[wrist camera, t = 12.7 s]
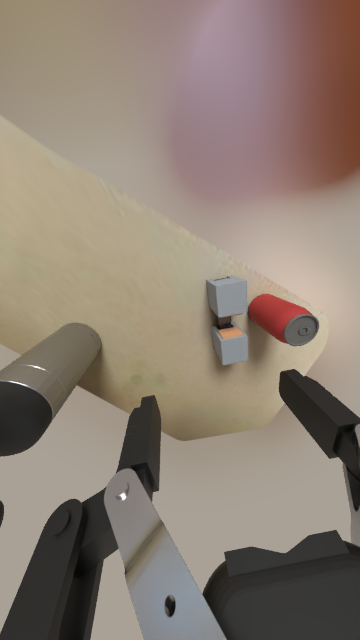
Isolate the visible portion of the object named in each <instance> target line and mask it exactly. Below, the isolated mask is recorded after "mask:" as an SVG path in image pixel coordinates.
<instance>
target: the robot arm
mask: <svg viewBox="0 0 360 640" xmlns="http://www.w3.org/2000/svg"><path fill="white" fill-rule="evenodd" d="M100 348H101V341H100V338H99V336H98V334H97V333H96V332H95V331H94V330H93V329H92V328H90V327H88V326H86V325H84V324H79V323H71V324H67V325H65V326H63V327H62V328H60V329H59V330H57V331H56V332H55V333H53V334H52V335H50V336H49V337H47V338H46V339H44V340H43V341H42V342H40V343H39V344H37V345H36V346H35V347H33V348H32V349H30V350H29V351H28V352H26V353H25V354H23V355H22V356H20V357H19V358H18V359H16V360H15V361H13V362H12V363H11V364H9V365H8V366H6V367H5V368H4V369H2V370H1V371H0V456H9V455H14V454H18V453H21V452H23V451H25V450H27V449H29V448H30V447H32V446H33V445H34V444H35V443H36V442H37V441H38V440H39V439H40V438H41V436H42V435H43V434H44V432H45V431H46V429H47V428H48V426H49V425H50V423H51V422H52V420H53V419H54V417H55V416H56V414H57V413H58V411H59V410H60V408H61V407H62V406H63V404H64V402H65V401H66V400H67V398H68V397H69V395H70V394H71V392H72V391H73V389H74V388H75V386H76V385H77V383H78V382H79V381H80V379H81V378H82V376H83V375H84V373H85V372H86V370H87V369H88V367H89V366H90V365H91V363H92V362H93V360H94V359H95V357H96V356H97V354H98V353H99V351H100ZM279 393H280V396H281V398H282V400H283V401H284V402H285V403H286V405H287V406H288V407H289V408H290V410H291V411H292V412H293V414H294V415H295V416H296V417H297V418H298V420H299V421H300V422H301V424H302V425H303V426H304V427H305V429H306V430H307V431H308V432H309V434H310V435H311V436H312V437H313V439H314V440H315V441H316V442H317V444H318V445H319V446H320V447H321V449H322V450H323V451H324V453H325V454H326V455H327V456H328V458H329V459H331V458H336V457H339V458H340V459H341V460H342V462H343V472H344V477H345V483H346V488H347V494H348V500H349V505H350V511H351V540H352V543H349V542H346V541H343V540H342V539H341V537H340V535H339V534H338V532H337V531H336V530H333V531H329V532H324V533H318V534H313V535H309V536H307V537H306V538H305V539H304V540H302V541H301V542H300V543H299V544H297V545H296V546H295V547H294V548H292V549H291V550H290V551H289V552H287V553H279V552H274V551H269V550H265V549H260V548H256V547H247V548H242V549H237V550H232V551H227V552H224V554H225V559H226V561H224V562H223V563H222V564H221V565H220V566H219V567H218V568H217V569H216V570H215V571H214V572H213V574H212V575H211V577H210V578H209V580H208V582H207V584H206V587H205V588H204V591H203V594H202V593H201V591H200V590H199V588H198V586H197V584H196V582H195V580H194V579H193V577H192V575H191V573H190V571H189V569H188V567H187V565H186V564H185V562H184V560H183V558H182V556H181V555H180V553H179V551H178V549H177V547H176V545H175V543H174V542H173V540H172V538H171V536H170V534H169V532H168V531H167V529H166V527H165V525H164V524H163V522H162V520H161V519H160V517H159V515H158V513H157V511H156V509H155V508H154V506H153V504H152V495H153V492H156V491H159V472H160V440H161V416H160V411H159V408H158V404H157V401H156V398H155V395H153V396H147V397H143V398H142V400H141V406H140V407H139V408H134V410H133V412H132V413H131V415H130V417H129V421H128V425H127V429H126V436H125V438H124V443H123V448H122V452H121V456H120V460H119V465H118V469H117V472H116V474H115V475H114V476H113V477H112V479H111V480H110V482H109V483H108V485H107V487H105V488H104V489H103V490H102V491H100V492H99V493H97V494H96V495H94V496H92V497H90V498H89V499H87V500H85V501H84V502H82V503H81V502H80V501H79V500H77V499H71V500H68V501H66V502H64V503H63V504H61V505H60V506H59V507H58V508H57V509H56V510H55V511H54V512H53V514H52V515H51V516H50V518H49V519H48V521H47V523H46V524H45V526H44V529H43V531H42V533H41V536H40V539H39V541H38V543H37V545H36V548H35V550H34V553H33V555H32V558H31V560H30V563H29V565H28V567H27V570H26V572H25V575H24V577H23V580H22V582H21V585H20V587H19V589H18V592H17V594H16V597H15V599H14V602H13V604H12V607H11V609H10V611H9V614H8V616H7V619H6V621H5V624H4V626H3V628H2V631H1V634H0V640H90V638H91V631H92V625H93V620H94V614H95V608H96V602H97V596H98V590H99V584H100V578H101V573H102V567H103V560H104V559H105V558H106V557H108V556H109V555H110V554H112V553H113V552H115V551H116V550H117V549H119V550H120V553H121V556H122V559H123V563H124V567H125V578H126V583H127V586H128V589H129V593H130V596H131V599H132V603H133V606H134V609H135V612H136V615H137V619H138V622H139V625H140V628H141V631H142V634H143V638H144V640H360V418H359V417H358V416H357V415H356V414H354V413H353V412H352V411H351V410H350V409H348V408H347V407H346V406H345V405H344V404H343V403H341V402H340V401H339V400H338V399H337V398H335V397H333V395H332V394H331V393H330V392H328V391H327V390H325V388H324V387H323V386H321V385H320V384H319V383H318V382H317V381H315V380H313V379H311V378H309V377H307V376H304V377H303V376H302V375H301V374H300V373H299V372H298V371H297V370H295V369H292V370H287V371H282V372H281V373H280V382H279ZM3 516H4V505H3V503H2V502H1V501H0V526H1V524H2V520H3Z"/></svg>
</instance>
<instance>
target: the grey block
mask: <svg viewBox="0 0 360 640" xmlns="http://www.w3.org/2000/svg"><path fill="white" fill-rule="evenodd" d="M212 335H213V345H214V349H215V351H216V353H217V355H218V357H219V359H220V361H221V363H222V365H228V364H233V363H238V362H243V361H248V336H247V335H246V334H245V333H244V332H243V331H242V330H241V329H240V328H239V327H238V326H237V325H236V324H235V323H234V322H232V323H231V328H226V329H220V330H218V329H217V327H216V326H212Z"/></svg>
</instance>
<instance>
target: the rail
mask: <svg viewBox="0 0 360 640" xmlns="http://www.w3.org/2000/svg"><path fill="white" fill-rule="evenodd" d="M223 279H226V278H223ZM217 280H222V279H217ZM213 281H216V280H213ZM217 326H218V330H220V329H226V328H231V319H230V316H228V317H223V318H221V317H218V316H217Z"/></svg>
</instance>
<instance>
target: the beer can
mask: <svg viewBox="0 0 360 640" xmlns="http://www.w3.org/2000/svg"><path fill="white" fill-rule="evenodd" d="M248 313H249V316H250V318H251V319H252V320H253V321H254V322H256V323H257V324H258V325H259V326H261V327H262V328H263V329H265V330H266V331H267V332H268V333H270V334H271V335H272V336H274V337H275V338H276V339H278V340H279V341H281V342H283V343H288V344H290V345H292V346H301V345H304V344H306V343H308V342H310V341H311V340H312V339H313V338H314V337H315V336H316V334H317V332H318V329H319V322H318V320H317V318H316V317H315V316H313V315H312V314H311V313H310V312H309V311H308V310H306V309H305V308H303V307H300V306H298V305H295V304H293V303H290V302H288V301H285V300H283V299H280V298H278V297H275V296H273V295H270V294H262V295H260V296H257V297H256V298H255V299H253V301H252V302H251V303H250V306H249V310H248Z"/></svg>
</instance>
